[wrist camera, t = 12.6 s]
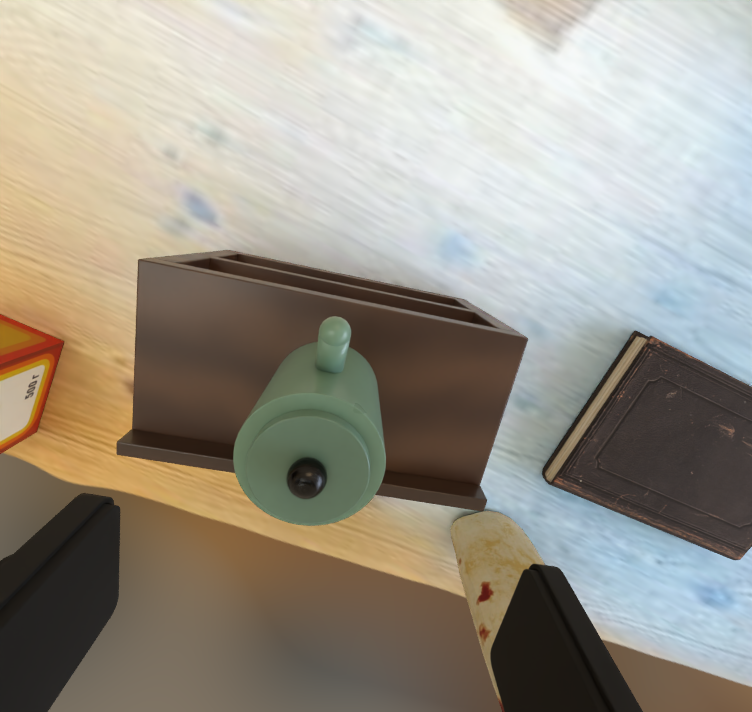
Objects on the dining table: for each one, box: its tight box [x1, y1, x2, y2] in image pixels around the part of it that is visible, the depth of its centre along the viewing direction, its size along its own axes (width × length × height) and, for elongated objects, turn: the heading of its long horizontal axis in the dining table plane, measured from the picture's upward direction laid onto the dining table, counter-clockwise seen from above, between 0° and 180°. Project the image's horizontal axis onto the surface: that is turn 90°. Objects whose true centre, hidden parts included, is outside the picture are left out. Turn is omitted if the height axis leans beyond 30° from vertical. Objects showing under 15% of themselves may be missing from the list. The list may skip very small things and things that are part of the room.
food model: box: [450, 511, 545, 712], centre depth 31 cm, size 10×7×20 cm
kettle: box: [233, 316, 386, 526], centre depth 17 cm, size 8×6×9 cm
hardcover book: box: [542, 331, 752, 560], centre depth 37 cm, size 16×23×2 cm
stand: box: [117, 250, 528, 511], centre depth 27 cm, size 10×20×15 cm, turn 78°
